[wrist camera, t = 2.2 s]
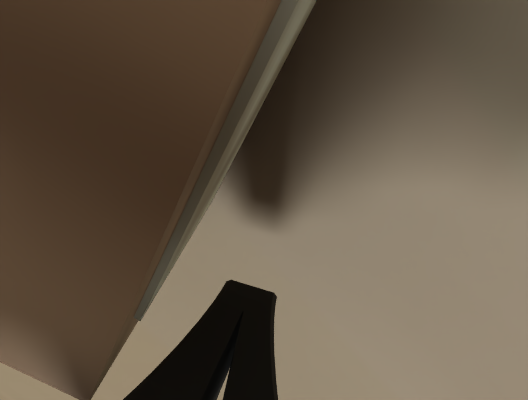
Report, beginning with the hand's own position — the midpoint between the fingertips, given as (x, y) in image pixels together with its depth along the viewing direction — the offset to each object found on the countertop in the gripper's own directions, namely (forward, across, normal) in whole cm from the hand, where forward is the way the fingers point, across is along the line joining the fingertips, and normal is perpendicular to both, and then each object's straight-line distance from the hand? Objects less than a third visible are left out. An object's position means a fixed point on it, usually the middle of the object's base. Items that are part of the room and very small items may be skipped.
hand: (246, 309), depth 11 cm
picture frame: (+3, 0, -13) cm, 13 cm away
